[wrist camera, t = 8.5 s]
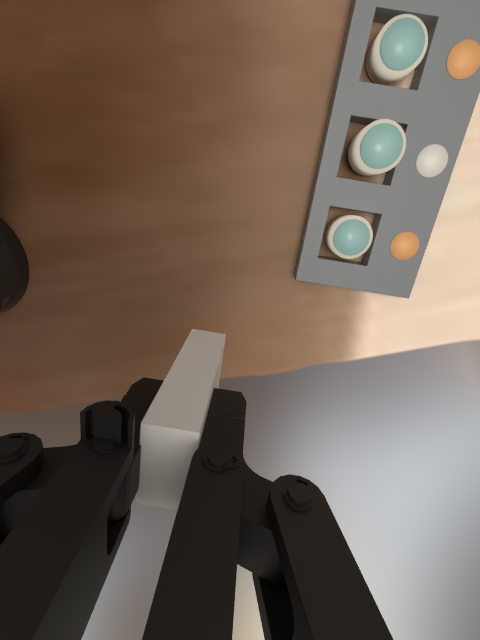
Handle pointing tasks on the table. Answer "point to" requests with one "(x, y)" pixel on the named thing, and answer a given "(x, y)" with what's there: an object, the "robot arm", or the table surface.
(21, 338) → the table surface
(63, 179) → the table surface
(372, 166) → the button
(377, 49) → the button
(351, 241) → the button
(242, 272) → the table surface
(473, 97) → the board
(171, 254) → the table surface
